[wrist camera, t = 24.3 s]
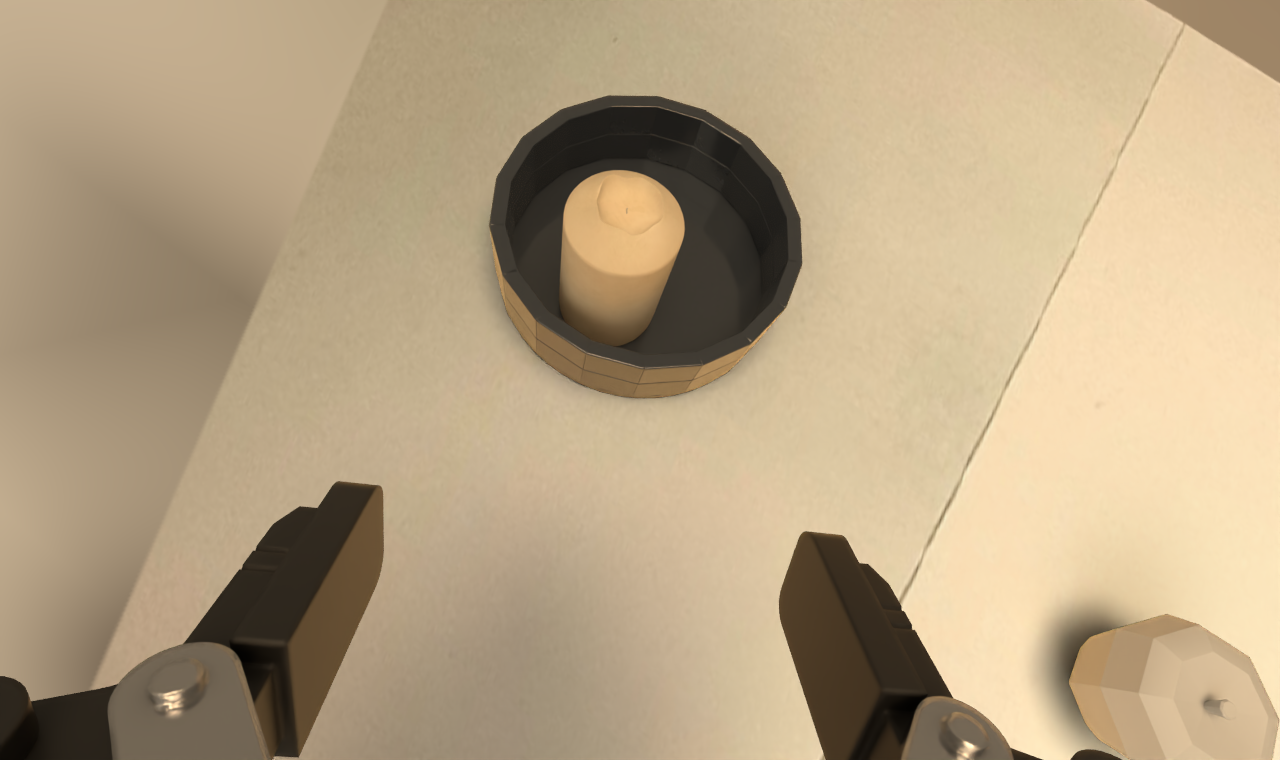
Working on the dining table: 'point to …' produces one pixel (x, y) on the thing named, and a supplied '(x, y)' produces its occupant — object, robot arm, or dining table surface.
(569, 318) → the candle
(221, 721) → the robot arm
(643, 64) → the dining table surface
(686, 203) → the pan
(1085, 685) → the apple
